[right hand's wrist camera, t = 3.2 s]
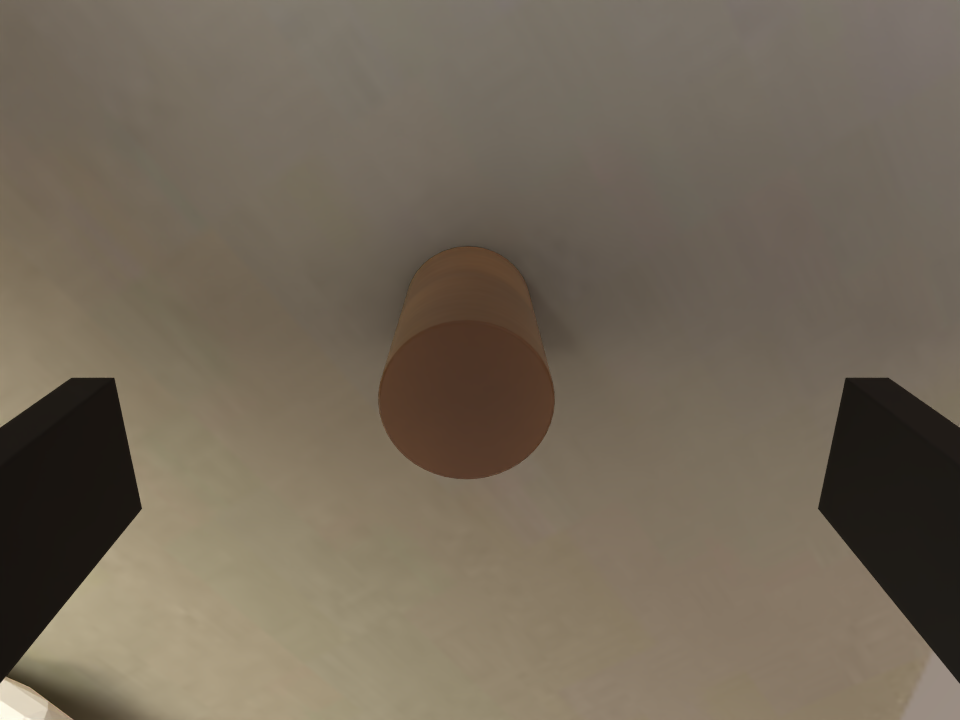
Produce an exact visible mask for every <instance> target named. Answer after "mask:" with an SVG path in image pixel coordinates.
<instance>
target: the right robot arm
mask: <svg viewBox="0 0 960 720" xmlns="http://www.w3.org/2000/svg"><path fill="white" fill-rule="evenodd" d="M141 509H142V507H141V502H140V497H139V492H138V488H137V483H136V478H135V474H134V469H133V464H132V459H131V455H130V450H129V445H128V440H127V436H126V431H125V426H124V422H123V417H122V412H121V407H120V403H119V398H118V393H117V388H116V384H115V379H114V378H71V379H69V380H68V381H66V382H65V383H63V384H62V385H61V386H59V387H58V388H56V389H55V390H53V391H52V392H51V393H49V394H48V395H46V396H45V397H43V398H42V399H41V400H39V401H38V402H36V403H35V404H33V405H32V406H31V407H29V408H28V409H26V410H25V411H23V412H22V413H21V414H19V415H18V416H16V417H15V418H13V419H12V420H11V421H9V422H8V423H6V424H5V425H3V426H2V427H1V428H0V683H1V682H2V681H3V679H4V678H5V677H6V676H7V675H8V673H9V672H10V671H11V670H12V668H13V667H14V666H15V665H16V663H17V662H18V661H19V660H20V658H21V657H22V656H23V655H24V654H25V652H26V651H27V650H28V649H29V647H30V646H31V645H32V644H33V642H34V641H35V640H36V639H37V638H38V636H39V635H40V634H41V633H42V631H43V630H44V629H45V628H46V626H47V625H48V624H49V623H50V621H51V620H52V619H53V618H54V617H55V615H56V614H57V613H58V612H59V610H60V609H61V608H62V607H63V605H64V604H65V603H66V602H67V601H68V599H69V598H70V597H71V596H72V594H73V593H74V592H75V591H76V589H77V588H78V587H79V586H80V584H81V583H82V582H83V581H84V580H85V578H86V577H87V576H88V575H89V573H90V572H91V571H92V570H93V568H94V567H95V566H96V565H97V564H98V562H99V561H100V560H101V559H102V557H103V556H104V555H105V554H106V552H107V551H108V550H109V549H110V547H111V546H112V545H113V544H114V543H115V541H116V540H117V539H118V538H119V536H120V535H121V534H122V533H123V531H124V530H125V529H126V528H127V527H128V525H129V524H130V523H131V522H132V520H133V519H134V518H135V517H136V515H137V514H138V513H139V512H140V510H141ZM818 509H819V510H820V512H821V513H822V514H823V515H824V517H825V518H826V519H827V520H828V522H829V523H830V524H831V525H832V527H833V528H834V529H835V530H836V531H837V533H838V534H839V535H840V536H841V538H842V539H843V540H844V541H845V543H846V544H847V545H848V546H849V547H850V549H851V550H852V551H853V552H854V554H855V555H856V556H857V557H858V559H859V560H860V561H861V562H862V564H863V565H864V566H865V567H866V568H867V570H868V571H869V572H870V573H871V575H872V576H873V577H874V578H875V580H876V581H877V582H878V583H879V584H880V586H881V587H882V588H883V589H884V591H885V592H886V593H887V594H888V596H889V597H890V598H891V599H892V601H893V602H894V603H895V604H896V605H897V607H898V608H899V609H900V610H901V612H902V613H903V614H904V615H905V617H906V618H907V619H908V620H909V621H910V623H911V624H912V625H913V626H914V628H915V629H916V630H917V631H918V633H919V634H920V635H921V636H922V638H923V639H924V640H925V641H926V642H927V644H928V645H929V646H930V647H931V649H932V650H933V651H934V652H935V654H936V655H937V656H938V657H939V658H940V660H941V661H942V662H943V663H944V665H945V666H946V667H947V668H948V670H949V671H950V672H951V673H952V674H953V676H954V677H955V678H956V679H957V681H958V682H959V683H960V428H959V427H958V426H957V425H955V424H954V423H952V422H951V421H949V420H948V419H947V418H945V417H944V416H942V415H941V414H939V413H938V412H937V411H935V410H934V409H932V408H931V407H929V406H928V405H927V404H925V403H924V402H922V401H921V400H919V399H918V398H917V397H915V396H914V395H912V394H911V393H909V392H908V391H907V390H905V389H904V388H902V387H901V386H899V385H898V384H897V383H895V382H894V381H892V380H891V379H889V378H846V379H845V384H844V388H843V393H842V398H841V403H840V407H839V412H838V417H837V422H836V426H835V431H834V436H833V440H832V445H831V450H830V455H829V459H828V464H827V469H826V474H825V478H824V483H823V488H822V492H821V497H820V502H819V507H818Z"/></svg>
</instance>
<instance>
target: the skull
mask: <svg viewBox="0 0 960 720" xmlns="http://www.w3.org/2000/svg"><path fill="white" fill-rule="evenodd" d="M0 720H73V719H72V718H70V717H69V716H68V715H66V714H65V713H64V712H62V711H61V710H60V709H58V708H57V707H56V706H54V705H53V704H52V703H50V702H49V701H48V700H46V699H45V698H44V697H42V696H41V695H40V694H38V693H37V692H36V691H34V690H33V689H32V688H30V687H28V686H26V685H24V684H21V683H19V682H17V681H14V680H12V679H10V678H8V677H5V678H4V679H3V681H2V682H1V683H0Z"/></svg>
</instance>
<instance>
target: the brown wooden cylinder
mask: <svg viewBox="0 0 960 720" xmlns="http://www.w3.org/2000/svg"><path fill="white" fill-rule="evenodd" d="M554 404H555V396H554V387H553V382H552V378H551V374H550V370H549V366H548V363H547V359H546V355H545V351H544V348H543V344H542V340H541V336H540V332H539V329H538V325H537V321H536V317H535V313H534V310H533V306H532V302H531V298H530V295H529V291H528V288H527V285H526V283H525V281H524V279H523V277H522V275H521V274H520V272H519V271H518V270H517V269H516V267H515V266H514V265H513V264H512V263H510V262H509V261H508V260H507V259H506V258H504V257H503V256H501V255H499V254H497V253H495V252H493V251H490V250H487V249H484V248H479V247H469V246H467V247H457V248H452V249H448V250H446V251H443V252H441V253H439V254H437V255H435V256H433V257H432V258H430V259H429V260H428V261H427V262H425V263H424V264H423V265H422V266H421V267H420V269H419V270H418V271H417V272H416V274H415V275H414V277H413V279H412V281H411V283H410V285H409V288H408V292H407V295H406V298H405V302H404V305H403V308H402V312H401V315H400V318H399V321H398V325H397V328H396V331H395V335H394V338H393V341H392V345H391V348H390V351H389V355H388V358H387V361H386V365H385V368H384V371H383V375H382V378H381V381H380V386H379V393H378V405H379V412H380V416H381V420H382V423H383V426H384V428H385V430H386V433H387V434H388V436H389V438H390V439H391V441H392V442H393V444H394V445H395V446H396V447H397V449H398V450H399V451H400V452H401V453H402V454H403V455H404V456H405V457H406V458H408V459H409V460H410V461H412V462H413V463H414V464H416V465H418V466H419V467H421V468H423V469H425V470H427V471H429V472H432V473H434V474H437V475H441V476H444V477H450V478H456V479H477V478H483V477H489V476H492V475H496V474H499V473H501V472H504V471H506V470H508V469H510V468H512V467H514V466H516V465H517V464H519V463H520V462H522V461H523V460H524V459H526V458H527V457H528V456H529V455H530V454H531V453H532V452H533V451H534V450H535V449H536V448H537V446H538V445H539V444H540V443H541V441H542V440H543V438H544V436H545V435H546V433H547V431H548V428H549V426H550V424H551V420H552V416H553V412H554Z"/></svg>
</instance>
